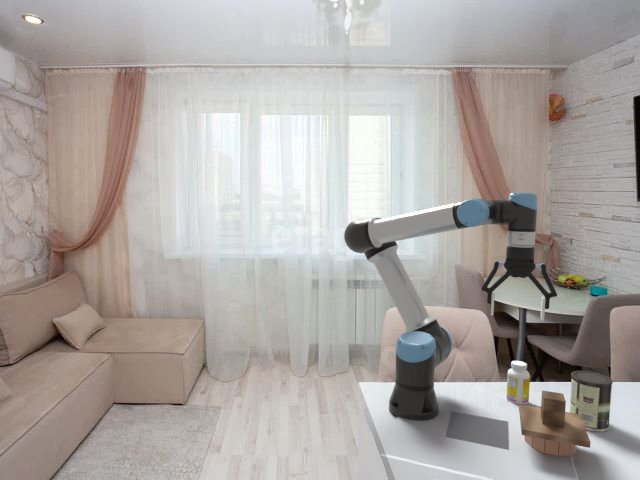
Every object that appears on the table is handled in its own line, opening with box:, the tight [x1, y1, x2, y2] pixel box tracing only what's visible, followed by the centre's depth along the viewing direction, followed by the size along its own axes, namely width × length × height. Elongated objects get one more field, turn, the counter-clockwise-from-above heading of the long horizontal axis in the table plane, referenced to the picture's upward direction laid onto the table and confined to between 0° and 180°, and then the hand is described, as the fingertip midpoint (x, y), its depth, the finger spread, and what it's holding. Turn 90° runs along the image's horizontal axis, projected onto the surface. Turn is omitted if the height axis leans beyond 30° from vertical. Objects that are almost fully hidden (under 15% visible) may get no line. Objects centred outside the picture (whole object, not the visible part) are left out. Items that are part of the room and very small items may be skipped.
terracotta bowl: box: [523, 435, 577, 457], centre depth 118 cm, size 12×12×6 cm
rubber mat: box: [444, 410, 510, 451], centre depth 125 cm, size 16×16×1 cm
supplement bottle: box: [506, 360, 531, 405], centre depth 144 cm, size 7×7×13 cm
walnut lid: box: [518, 390, 592, 449], centre depth 116 cm, size 15×15×8 cm
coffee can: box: [569, 370, 614, 433], centre depth 130 cm, size 10×10×14 cm
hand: (516, 317), depth 131 cm, fingers open, 13 cm apart
